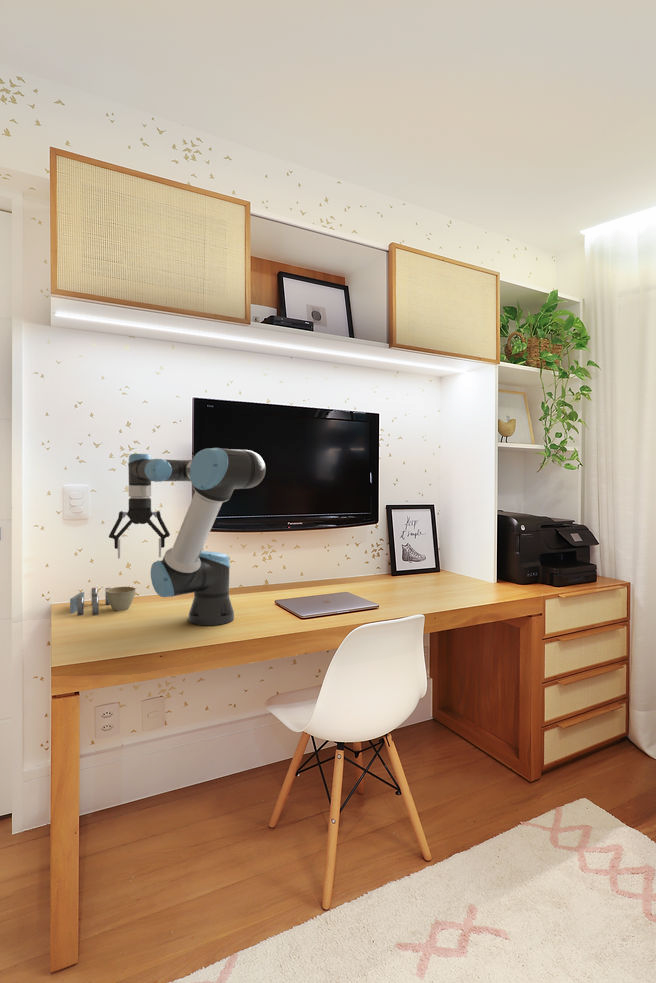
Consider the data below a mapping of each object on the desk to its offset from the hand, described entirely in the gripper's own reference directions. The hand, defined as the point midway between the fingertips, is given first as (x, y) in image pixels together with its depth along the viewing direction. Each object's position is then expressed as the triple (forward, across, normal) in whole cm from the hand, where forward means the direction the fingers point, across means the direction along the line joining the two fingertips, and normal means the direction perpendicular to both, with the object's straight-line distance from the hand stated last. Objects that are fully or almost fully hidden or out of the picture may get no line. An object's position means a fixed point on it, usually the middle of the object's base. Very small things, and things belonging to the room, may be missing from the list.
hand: (139, 557), depth 186 cm
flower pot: (+20, +7, -5) cm, 22 cm away
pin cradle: (+19, +17, -7) cm, 27 cm away
